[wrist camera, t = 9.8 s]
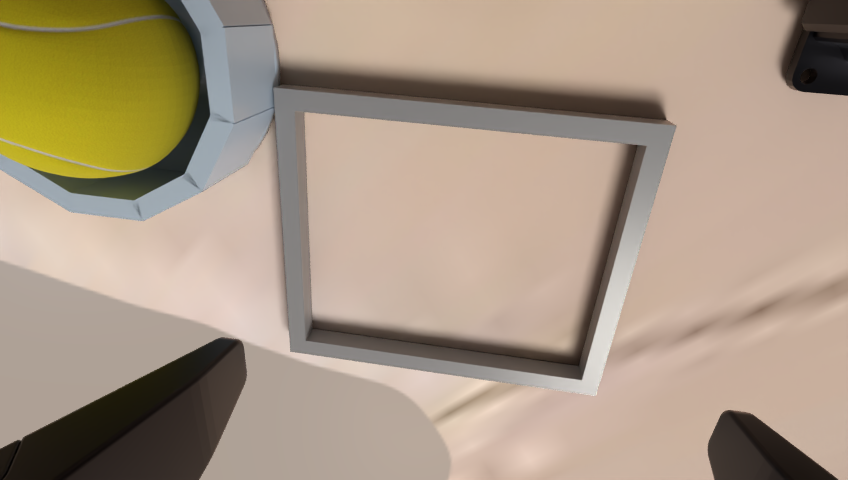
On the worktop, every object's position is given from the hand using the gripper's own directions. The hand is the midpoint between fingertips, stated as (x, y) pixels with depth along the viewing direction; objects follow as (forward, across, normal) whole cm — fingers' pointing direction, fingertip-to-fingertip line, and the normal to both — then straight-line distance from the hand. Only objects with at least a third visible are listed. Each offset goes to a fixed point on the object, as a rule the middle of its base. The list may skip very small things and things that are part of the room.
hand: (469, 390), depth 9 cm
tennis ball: (+12, +14, -4) cm, 18 cm away
